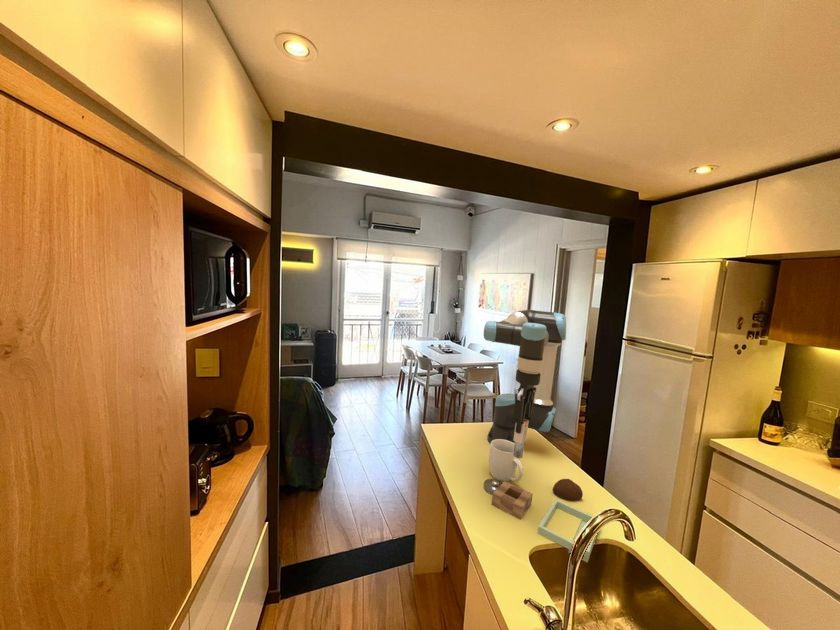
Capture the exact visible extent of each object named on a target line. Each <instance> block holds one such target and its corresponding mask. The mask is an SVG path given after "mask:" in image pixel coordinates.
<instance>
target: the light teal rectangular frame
mask: <svg viewBox="0 0 840 630" xmlns="http://www.w3.org/2000/svg"><path fill="white" fill-rule="evenodd" d="M556 509H558V510H561V511H563V512H565V513H568V514H570V515H572V516H573V517H576V518H578V519H580V520H581V521H580V523H579V525H578V527H577V530H576V533H575V534H574V537H573V539H572V540H571V539H568V538H567V537H565V536H563V535H561V534H559V533H557V532H555V531H553V530H551V529H549V528H547V525H548V523H549V522H550V520H551V518H552V516H553V515H554V513H555V511H556ZM593 516H594V515H593V514H592V515H591V513H590V514H589V513H588V512H585V511H583V510H581V509H578V508H576V507H574V506H572V505H569V504H567V503H566V502H563V501H561V500H558V499H556V498H554V500H553V502H552V503H551V505H550V507H549V508H548V510H547V511H546V513H545V514H544V516H543V518H542V520H541V521H540V523H539V524H538V527H537V534H539V535H540V536H542V537H545V538H546V539H547V540H550V541H552V542H554V543H556V544H558V545H559V546H561V547H564V548H566V549H567V553H568V554H570V553H571V549H572V546H573V544H574V541H575V539H576V537H577V536H578V534H579V533H580V531H581V530H582V528H583V527H584V525H586V523H587V522H588V521H589V520H590V519H591V518H592V517H593ZM597 536H598V534H597V535H596V536H595V537H594V539H593V540H592V541H591V543H590V545H589V546H588V548H587V550H586V552H585V554H584V557H583V559H581V560H582V561H583V562H585V563H588V562H589V560H590V557H591V554H592V551H593V548H594V545H595V542H596V540H597Z"/></svg>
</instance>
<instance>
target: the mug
mask: <svg viewBox="0 0 840 630" xmlns="http://www.w3.org/2000/svg"><path fill="white" fill-rule="evenodd" d="M489 445H490V446H489V454H488V464H489V471H490V474H491V476H492V477H493V479H496V480H499V481H501V482H504V481H506V482H509V481H512V482H520V481H521V480H522V479H523V477H524V468H523V464H522V462H521V461H520V460H519V459H520V458H517V457H515V456H514V455H513V452H514V445H515V443H513V442H511V441H508V440H503V439H496V440H493V441H491V444H490V443H489ZM517 468H518V471H519V475H518V478H515V477H514V476H515V473H516V471H517Z"/></svg>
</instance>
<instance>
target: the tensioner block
mask: <svg viewBox="0 0 840 630" xmlns="http://www.w3.org/2000/svg"><path fill="white" fill-rule="evenodd" d="M502 482H503V483H502V484H501V485H500V486H499V488H498V489H497V490H496V491H495V492H494V493H493V495H491V496H492V497H491V506H493V507H495V508H497V509H500V510H501V511H503V512H504V513H507V514H508V515H510V516H512V517H514V518H516V519H518V520H521V519H522V518H523V517H524V516H525V514H526V513H527V512H528V510H529V508H530V507H531V506H532V503H533V502H532V501H533V492H530V491H528V490H526V489H524V488H522V487H519V486H517V485H515V484H513V483H510V482H509V481H502Z"/></svg>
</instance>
